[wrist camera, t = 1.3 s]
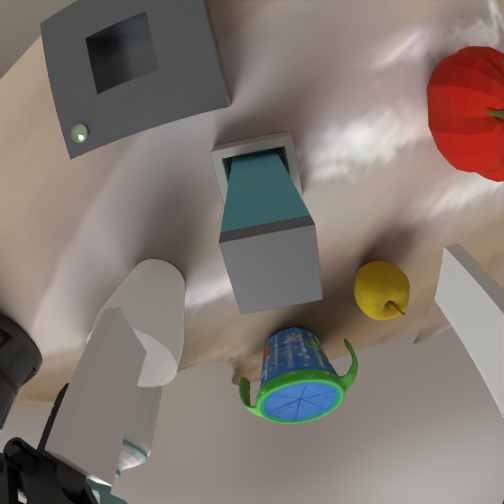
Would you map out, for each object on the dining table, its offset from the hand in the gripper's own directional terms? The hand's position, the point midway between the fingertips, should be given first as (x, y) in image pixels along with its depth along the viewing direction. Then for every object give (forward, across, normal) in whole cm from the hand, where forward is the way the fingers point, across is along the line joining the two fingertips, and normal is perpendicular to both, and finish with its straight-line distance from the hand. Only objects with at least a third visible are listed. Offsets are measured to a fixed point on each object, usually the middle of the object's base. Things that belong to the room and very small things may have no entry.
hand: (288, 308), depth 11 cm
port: (+19, -8, +14) cm, 25 cm away
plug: (+19, 0, 0) cm, 19 cm away
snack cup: (+20, 0, -24) cm, 31 cm away
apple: (+20, +10, -14) cm, 26 cm away
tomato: (+20, +22, +5) cm, 30 cm away
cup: (+20, -14, -10) cm, 26 cm away
